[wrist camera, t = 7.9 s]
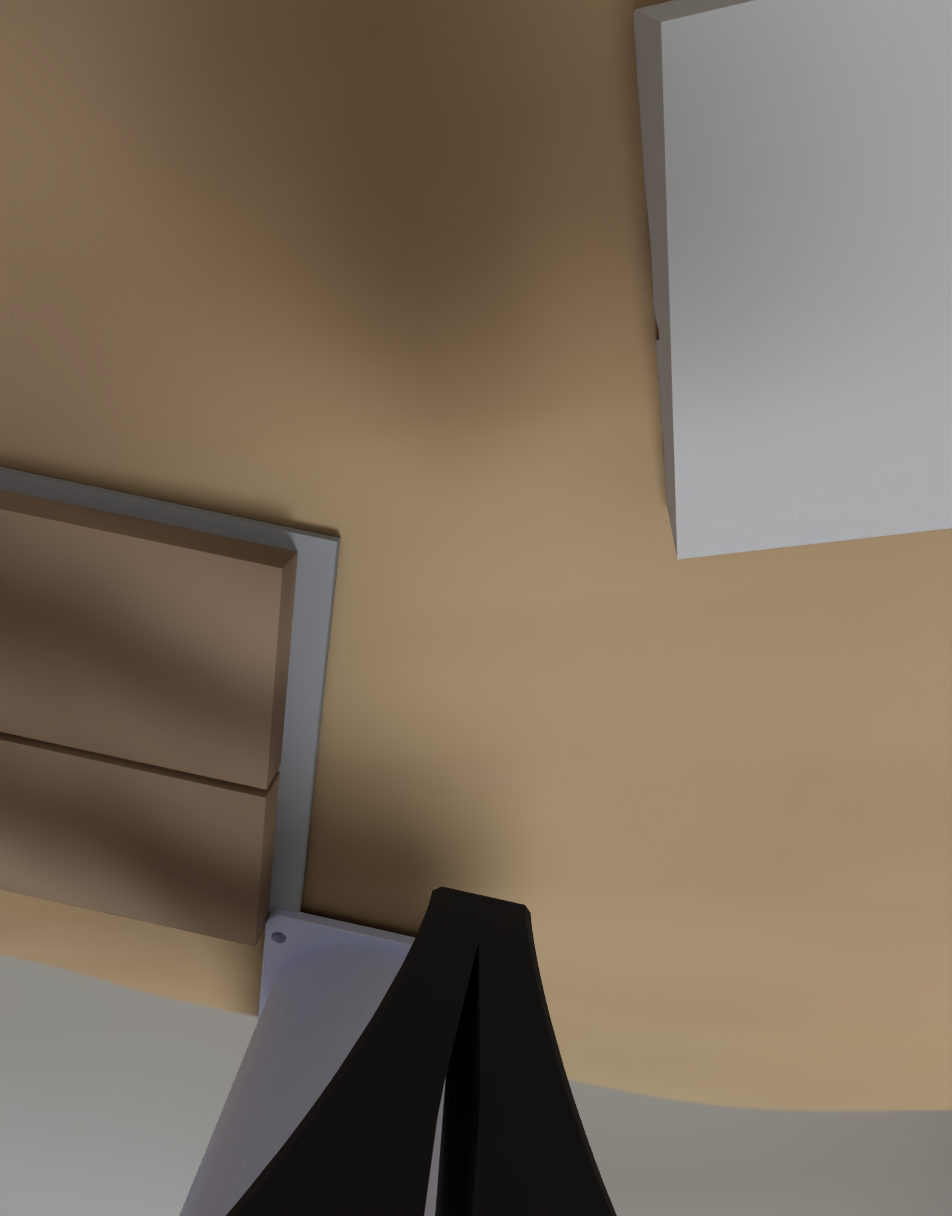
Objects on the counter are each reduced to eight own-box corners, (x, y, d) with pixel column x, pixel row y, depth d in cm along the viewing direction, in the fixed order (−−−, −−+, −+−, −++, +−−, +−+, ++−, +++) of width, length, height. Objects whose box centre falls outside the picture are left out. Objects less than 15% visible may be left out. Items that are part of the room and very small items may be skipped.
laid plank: (268, 917, 26) (255, 946, 25) (-129, 829, 26) (-159, 853, 25) (280, 772, 23) (265, 798, 22) (-163, 675, 23) (-198, 696, 22)
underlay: (298, 926, 26) (296, 933, 26) (-146, 827, 26) (-154, 833, 26) (340, 538, 20) (337, 541, 20) (-244, 415, 20) (-255, 417, 20)
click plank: (281, 764, 23) (266, 789, 22) (-165, 667, 23) (-200, 687, 22) (298, 551, 20) (282, 568, 19) (-214, 444, 20) (-258, 454, 19)
